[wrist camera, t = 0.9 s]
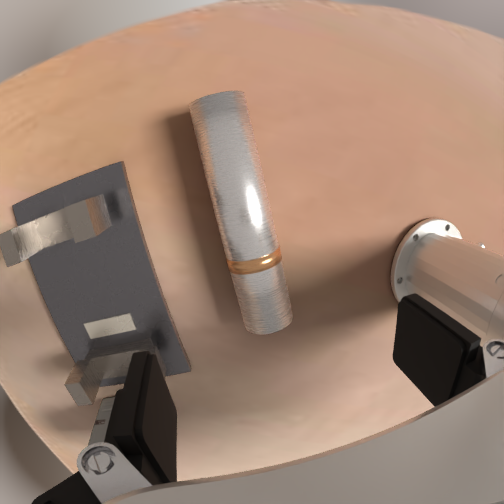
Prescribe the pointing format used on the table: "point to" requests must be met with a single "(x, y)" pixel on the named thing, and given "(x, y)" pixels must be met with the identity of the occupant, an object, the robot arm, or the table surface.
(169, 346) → the plate with corner blocks
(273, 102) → the table surface
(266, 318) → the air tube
